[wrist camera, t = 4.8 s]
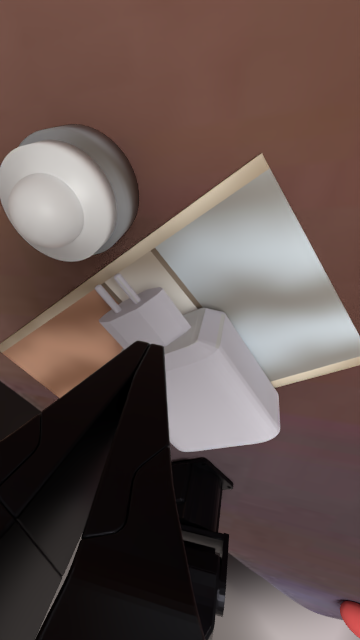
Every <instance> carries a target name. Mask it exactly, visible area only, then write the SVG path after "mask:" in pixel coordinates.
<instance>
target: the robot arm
mask: <svg viewBox="0 0 360 640" xmlns="http://www.w3.org/2000/svg"><path fill="white" fill-rule="evenodd" d="M226 489H233V483H232V482H231V481H230V480H229V479H227V478H226V477H225V476H224V475H223V474H222V473H221V472H220V471H219V470H217V469H216V468H215V467H214V466H213V465H212V464H211V463H210V462H209V461H208V460H206V459H196V460H190V461H184V462H177V463H171V451H170V437H169V420H168V403H167V386H166V369H165V352H164V346H162V345H158V344H150V343H148V342H143V341H135V342H134V343H133V344H131V345H130V346H129V347H127V348H126V349H125V350H123V351H122V352H121V353H119V354H118V355H117V356H115V357H114V358H113V359H111V360H110V361H109V362H107V363H106V364H105V365H103V366H102V367H101V368H99V369H98V370H97V371H95V372H94V373H93V374H91V375H90V376H89V377H87V378H86V379H85V380H83V381H82V382H81V383H79V384H78V385H77V386H75V387H74V388H73V389H71V390H70V391H69V392H67V393H66V394H65V395H63V396H62V397H61V398H59V399H58V400H57V401H55V402H54V403H52V404H51V405H50V406H48V407H47V408H46V409H44V410H43V411H42V412H41V414H38V415H37V416H35V417H34V418H32V419H31V420H30V421H28V422H27V423H26V424H24V425H23V426H21V427H20V428H19V429H17V430H16V431H15V432H13V433H12V434H10V435H9V436H7V437H6V438H5V439H3V440H1V441H0V640H212V635H213V630H214V624H215V615H218V616H221V617H222V616H223V610H224V601H225V590H226V576H227V559H228V543H229V534H226V533H224V534H222V533H218V528H219V518H220V508H221V498H222V490H226ZM82 532H83V534H82ZM81 534H82V540H81V541H80V543H79V546H78V549H77V552H76V554H75V557H74V560H73V563H72V565H71V568H70V570H69V573H68V575H67V577H66V579H65V581H64V584H63V585H62V587H61V589H60V591H59V593H58V595H57V597H56V599H55V601H54V603H53V605H52V607H51V609H50V611H49V613H48V615H47V617H46V619H45V621H44V623H43V625H42V627H41V629H40V626H41V624H42V622H43V620H44V618H45V615H46V613H47V611H48V609H49V606H50V604H51V602H52V599H53V598H54V595H55V593H56V590H57V588H58V586H59V584H60V582H61V579H62V576H63V574H64V573H65V570H66V568H67V566H68V564H69V561H70V559H71V557H72V555H73V552H74V550H75V548H76V545H77V543H78V541H79V539H80V537H81ZM215 552H217V553H221V556H220V557H219V556H218V555H216V554H215ZM39 629H40V631H39ZM38 631H39V633H38ZM37 633H38V635H37ZM36 636H37V637H36ZM35 638H36V639H35Z"/></svg>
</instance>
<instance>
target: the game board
mask: <svg viewBox="0 0 360 640" xmlns="http://www.w3.org/2000/svg"><path fill="white" fill-rule="evenodd" d="M43 140H60V141H63V142H67V143H69V144H72V145H74V146H76V147H77V148H79V149H81V150H82V151H84V152H85V153H86V154H88V155H89V156H90V157H91V158H92V159H93V160H94V161H95V162H96V163H97V164H98V166H99V167H100V168H101V169H102V171H103V172H104V174H105V175H106V177H107V179H108V180H109V182H110V185H111V187H112V189H113V192H114V196H115V200H116V205H117V220H116V225H115V228H114V231H113V233H112V235H111V236H110V238H109V239H108V240H107V241H106V242H105V243H104V244H103V245H102V246H101V247H100V248H99V249H98V250H97V251H96V252H95V253H94V254H93V255H95V254H99V253H102V252H104V251H106V250H108V249H109V248H111V247H112V246H113V245H114V244H115V243H116V242H117V241H118V240H119V239H120V237H121V236H122V235H123V234H124V233H125V232H126V231H127V230H128V229H129V228H130V226H131V225H132V223H133V221H134V220H135V217H136V214H137V211H138V205H139V190H138V184H137V180H136V176H135V174H134V171H133V169H132V167H131V165H130V163H129V161H128V159H127V158H126V156H125V155H124V153H123V152H122V151H121V149H120V148H119V147H118V146H117V145H116V144H115V143H114V142H113V141H112V140H111V139H110V138H108V137H107V136H106V135H105V134H103V133H101V132H99V131H98V130H96V129H93V128H91V127H88V126H84V125H77V124H71V125H64V126H59V127H54V128H49V129H44V130H40V131H37V132H35V133H33V134H30V135H29V136H28V137H26V138H25V139H24V140H23V141H22V143H21V144H20V145H19V147H20V146H23V145H27V144H31V143H35V142H39V141H43ZM118 273H119V274H121V275H122V276H123V278H124V279H125V280H126V281H127V283H128V284H129V285H130V286H131V288H132V289H133V290H134V291H135V293H136V294H139V293H141V292H143V291H145V290H147V289H152V288H157V287H161V288H162V289H163V290H164V291H165V292H166V294H167V295H168V296H169V298H170V299H171V300H172V302H173V303H174V304H175V306H176V307H177V308H178V310H179V311H180V312H181V314H182V315H185V314H187V313H190V312H192V311H195V310H197V309H200V308H208V309H212V310H217V311H221V312H225V314H226V315H227V317H228V318H229V320H230V321H231V323H232V324H233V326H234V328H235V329H236V331H237V332H238V334H239V335H240V337H241V338H242V340H243V341H244V343H245V344H246V346H247V347H248V349H249V350H250V352H251V353H252V355H253V356H254V358H255V359H256V361H257V362H258V364H259V365H260V367H261V368H262V370H263V371H264V373H265V374H266V376H267V378H268V379H269V381H270V382H271V384H272V385H273V387H274V388H276V387H280V386H283V385H287V384H291V383H295V382H298V381H302V380H306V379H310V378H313V377H317V376H321V375H324V374H328V373H332V372H336V371H339V370H343V369H347V368H350V367H354V366H358V365H360V336H359V334H358V332H357V330H356V329H355V327H354V325H353V323H352V321H351V319H350V317H349V315H348V314H347V312H346V310H345V308H344V306H343V304H342V302H341V300H340V299H339V297H338V295H337V293H336V291H335V289H334V287H333V286H332V284H331V282H330V280H329V278H328V276H327V274H326V272H325V271H324V269H323V267H322V265H321V263H320V261H319V259H318V257H317V256H316V254H315V252H314V250H313V248H312V246H311V244H310V242H309V241H308V239H307V237H306V235H305V233H304V231H303V229H302V227H301V226H300V224H299V222H298V220H297V218H296V216H295V214H294V212H293V211H292V209H291V207H290V205H289V203H288V201H287V199H286V198H285V196H284V194H283V192H282V190H281V188H280V186H279V184H278V183H277V181H276V179H275V177H274V175H273V173H272V171H271V169H270V168H269V166H268V164H267V162H266V160H265V158H264V156H263V154H262V153H261V154H259V155H258V156H257V157H255V158H254V159H253V160H251V161H250V162H249V163H247V164H246V165H244V166H243V167H242V168H240V169H239V170H238V171H236V172H235V173H233V174H232V175H231V176H229V177H228V178H227V179H225V180H224V181H223V182H221V183H220V184H218V185H217V186H216V187H214V188H213V189H212V190H210V191H209V192H207V193H206V194H205V195H203V196H202V197H201V198H199V199H198V200H196V201H195V202H194V203H192V204H191V205H190V206H188V207H187V208H186V209H184V210H183V211H181V212H180V213H179V214H177V215H176V216H175V217H173V218H172V219H170V220H169V221H168V222H166V223H165V224H164V225H162V226H161V227H159V228H158V229H157V230H155V231H154V232H153V233H151V234H150V235H149V236H147V237H146V238H144V239H143V240H142V241H140V242H139V243H138V244H136V245H135V246H133V247H132V248H131V249H129V250H128V251H127V252H125V253H124V254H123V255H121V256H120V257H118V258H117V259H116V260H114V261H113V262H112V263H110V264H109V265H107V266H106V267H105V268H103V269H102V270H101V271H99V272H98V273H96V274H95V275H94V276H92V277H91V278H90V279H88V280H87V281H86V282H84V283H83V284H81V285H80V286H79V287H77V288H76V289H75V290H73V291H72V292H70V293H69V294H68V295H66V296H65V297H64V298H62V299H61V300H60V301H58V302H57V303H55V304H54V305H53V306H51V307H50V308H49V309H47V310H46V311H44V312H43V313H42V314H40V315H39V316H38V317H36V318H35V319H33V320H32V321H31V322H29V323H28V324H27V325H25V326H24V327H23V328H21V329H20V330H18V331H17V332H16V333H14V334H13V335H12V336H10V337H9V338H7V339H6V340H5V341H3V342H2V343H1V344H0V352H1V353H3V354H4V355H5V356H6V357H8V358H9V359H10V360H12V361H13V362H14V363H15V364H17V365H18V366H19V367H21V368H22V369H23V370H24V371H26V372H27V373H28V374H29V375H31V376H32V377H33V378H35V379H36V380H37V381H38V382H40V383H41V384H42V385H44V386H45V387H46V388H47V389H49V390H50V391H51V392H53V393H54V394H55V395H56V396H58V397H59V398H61V397H62V396H63V395H65V394H66V393H67V392H69V391H70V390H71V389H73V388H74V387H75V386H77V385H78V384H79V383H81V382H82V381H83V380H85V379H86V378H87V377H89V376H90V375H91V374H93V373H94V372H95V371H97V370H98V369H99V368H101V367H102V366H103V365H105V364H106V363H107V362H109V361H110V360H111V359H113V358H114V357H115V356H117V355H118V354H119V353H120V352H121V351H122V349H123V347H122V346H121V345H120V344H119V343H118V342H117V341H116V340H115V339H114V338H113V336H112V335H111V334H110V333H109V332H108V331H107V330H106V329H105V328H104V327H103V326H102V325H101V324H100V322H99V319H100V318H101V317H103V316H104V315H105V314H106V313H107V312H109V311H110V310H112V309H111V307H110V306H109V305H108V304H107V303H106V302H105V301H104V299H103V298H102V297H101V296H100V295H99V294H98V293H97V291H96V290H95V287H96V286H97V285H102V287H103V288H104V289H105V290H106V291H107V292H108V294H109V295H110V296H111V297H112V298H113V299H114V301H115V302H116V303H117V304H118V305H119V304H120V303H121V302H123V301H125V300H127V299H129V296H128V295H127V294H126V293H125V292H124V290H123V289H122V288H121V287H120V286H119V284H118V283H117V282H116V281H115V279H114V276H115V275H116V274H118Z"/></svg>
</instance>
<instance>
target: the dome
mask: <svg viewBox="0 0 360 640" xmlns="http://www.w3.org/2000/svg"><path fill="white" fill-rule="evenodd" d="M0 199H1V203H2V206H3V208H4V211H5V213H6V215H7V217H8V219H9V220H10V222H11V223H12V225H13V227H14V228H15V229H16V230H17V232H18V233H19V234H20V235H21V236H22V237H23V239H24V240H26V241H27V242H28V243H29V244H30V245H31V246H32V247H34V248H35V249H37V250H38V251H40V252H41V253H43V254H45V255H47V256H49V257H51V258H54V259H57V260H61V261H69V262H74V261H80V260H84V259H86V258H89V257H90V256H92V255H93V254H94V253H95V252H96V251H97V250H98V249H99V248H100V247H101V246H102V245H103V244H104V243H105V242H106V241H107V240H108V239H109V238H110V236H111V235H112V233H113V231H114V228H115V225H116V220H117V205H116V200H115V196H114V192H113V189H112V187H111V185H110V182H109V180H108V179H107V177H106V175H105V174H104V172H103V171H102V169H101V168H100V167H99V166H98V164H97V163H96V162H95V161H94V160H93V159H92V158H91V157H90V156H89V155H88V154H86V153H85V152H84V151H82V150H81V149H79V148H77V147H76V146H74V145H72V144H69V143H67V142H63V141H60V140H43V141H39V142H35V143H31V144H27V145H23V146H20V147H18V148H16V149H14V150H12V151H11V152H10V153H9V154H8V155H7V156H6V157H5V159H4V160H3V162H2V164H1V167H0Z"/></svg>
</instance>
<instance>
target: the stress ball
mask: <svg viewBox="0 0 360 640" xmlns="http://www.w3.org/2000/svg"><path fill="white" fill-rule="evenodd" d="M340 613H341V616H342V618H343V620H344V622H345V623H346V625H347V626H348V627H349V629H350V630H351V631H352V632H353V633H354V634H355V635H356V636H357V637H359V638H360V604H359V603H356V602H352V601H344V602H343V603H342V604H341V607H340Z"/></svg>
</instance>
